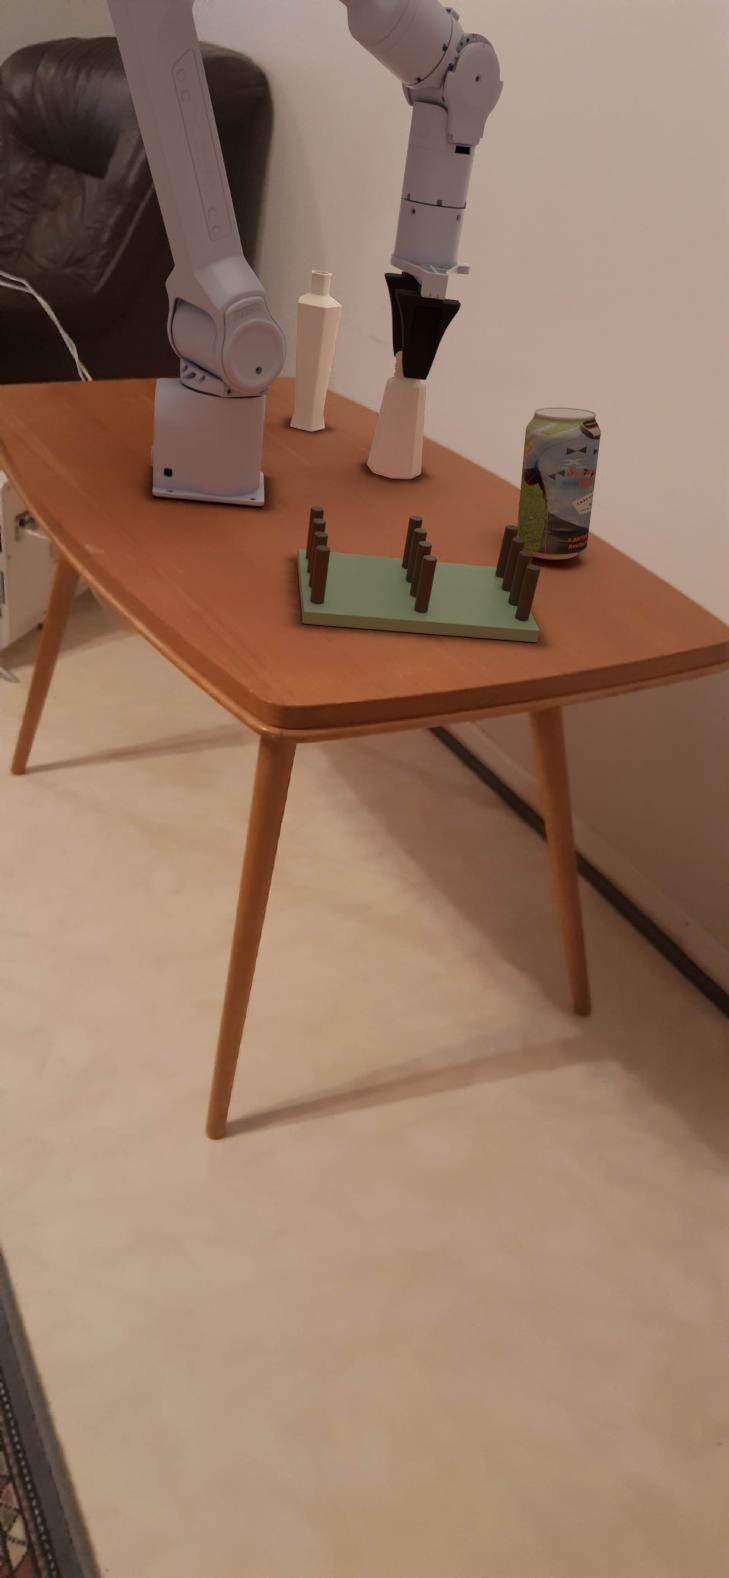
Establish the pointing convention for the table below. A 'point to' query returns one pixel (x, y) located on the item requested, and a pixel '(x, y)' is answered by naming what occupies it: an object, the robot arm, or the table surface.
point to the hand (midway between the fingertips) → (409, 367)
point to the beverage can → (558, 481)
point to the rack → (418, 588)
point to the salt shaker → (399, 428)
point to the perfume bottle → (314, 351)
